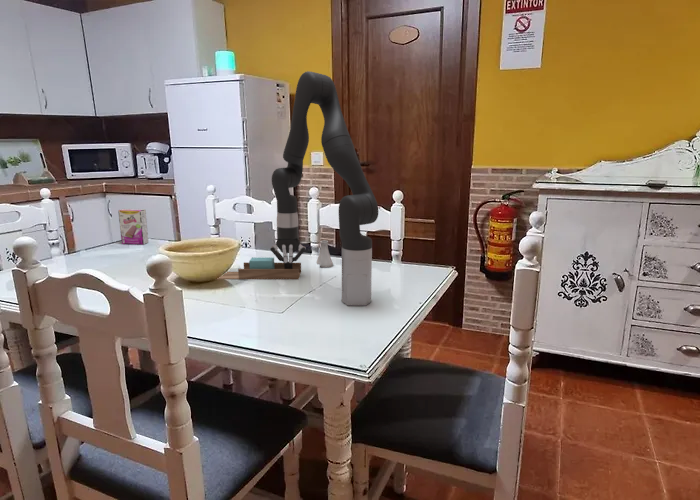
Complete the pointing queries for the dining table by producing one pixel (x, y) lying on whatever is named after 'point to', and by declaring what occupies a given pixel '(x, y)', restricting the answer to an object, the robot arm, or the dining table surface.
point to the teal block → (261, 263)
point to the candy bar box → (133, 226)
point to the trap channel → (265, 272)
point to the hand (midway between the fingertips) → (288, 272)
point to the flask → (324, 255)
